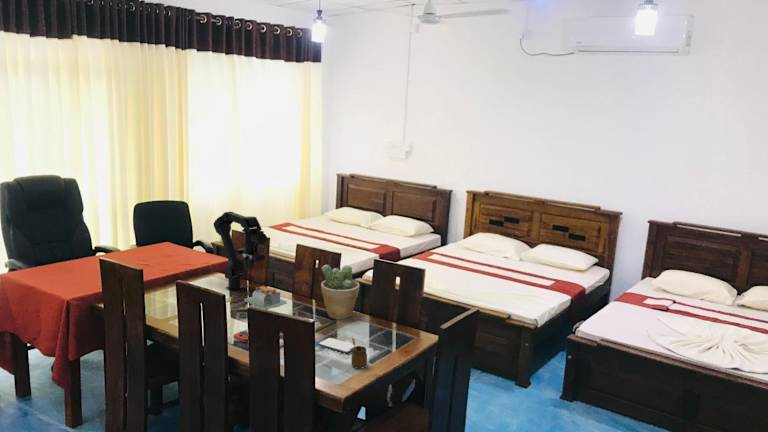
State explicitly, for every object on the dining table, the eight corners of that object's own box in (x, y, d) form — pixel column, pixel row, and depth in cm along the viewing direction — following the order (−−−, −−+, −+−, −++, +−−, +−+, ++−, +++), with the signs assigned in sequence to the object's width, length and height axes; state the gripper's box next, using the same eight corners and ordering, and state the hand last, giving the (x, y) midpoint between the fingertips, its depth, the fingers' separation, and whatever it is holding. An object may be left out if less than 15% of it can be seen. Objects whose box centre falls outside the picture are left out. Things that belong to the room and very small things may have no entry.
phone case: (316, 347, 238) (347, 356, 229) (316, 343, 238) (347, 352, 229) (329, 340, 245) (360, 349, 237) (329, 336, 245) (360, 345, 237)
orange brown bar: (257, 290, 289) (257, 287, 289) (261, 289, 291) (261, 286, 291) (272, 294, 282) (272, 290, 281) (276, 293, 284) (276, 289, 283)
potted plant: (346, 306, 287) (348, 258, 282) (366, 318, 272) (368, 267, 267) (314, 312, 277) (314, 262, 272) (332, 324, 262) (333, 272, 257)
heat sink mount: (244, 301, 289) (244, 286, 287) (264, 295, 299) (264, 281, 297) (265, 309, 278) (265, 294, 277) (286, 303, 288) (286, 289, 286)
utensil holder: (369, 366, 220) (370, 337, 218) (356, 370, 216) (357, 340, 214) (361, 361, 225) (362, 332, 223) (347, 364, 221) (348, 335, 219)
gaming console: (276, 320, 261) (290, 324, 254) (277, 325, 261) (290, 329, 255) (231, 333, 243) (244, 338, 237) (231, 339, 244) (245, 344, 237)
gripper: (274, 242, 294) (274, 271, 297) (251, 236, 306) (252, 264, 309) (256, 245, 286) (256, 275, 289) (234, 239, 298) (234, 267, 300)
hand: (250, 270), depth 297 cm, fingers closed
